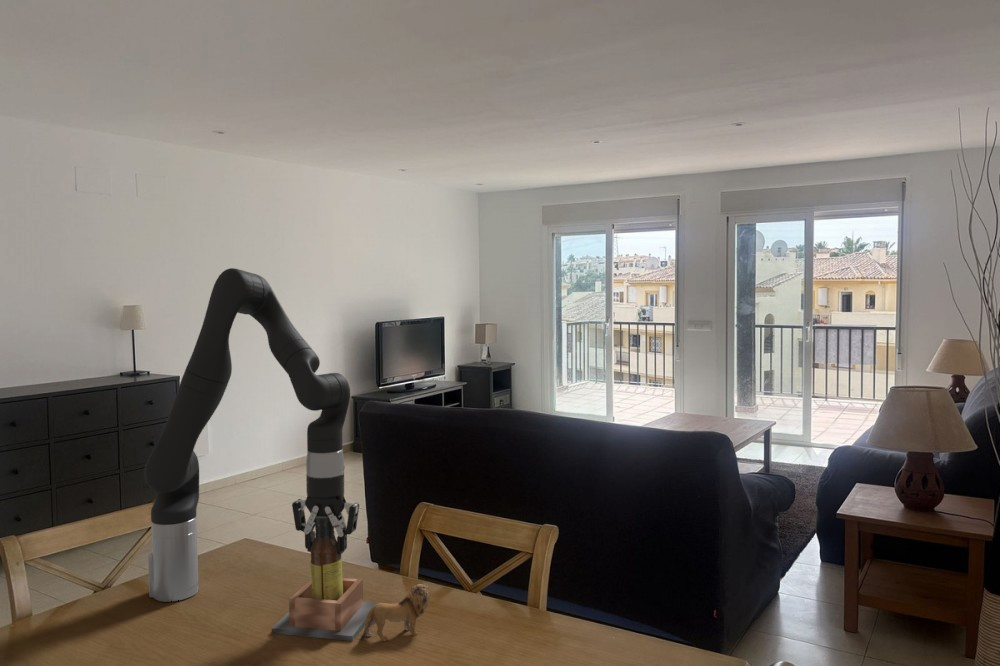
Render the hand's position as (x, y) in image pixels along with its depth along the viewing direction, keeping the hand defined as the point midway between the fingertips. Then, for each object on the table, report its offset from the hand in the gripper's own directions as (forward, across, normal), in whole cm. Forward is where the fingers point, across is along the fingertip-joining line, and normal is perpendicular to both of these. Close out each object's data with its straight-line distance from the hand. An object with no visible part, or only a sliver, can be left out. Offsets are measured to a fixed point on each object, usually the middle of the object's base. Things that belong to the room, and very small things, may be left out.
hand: (326, 551), depth 148 cm
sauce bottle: (+12, 0, 0) cm, 12 cm away
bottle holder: (+14, 0, 0) cm, 14 cm away
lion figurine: (+15, +16, -3) cm, 22 cm away
